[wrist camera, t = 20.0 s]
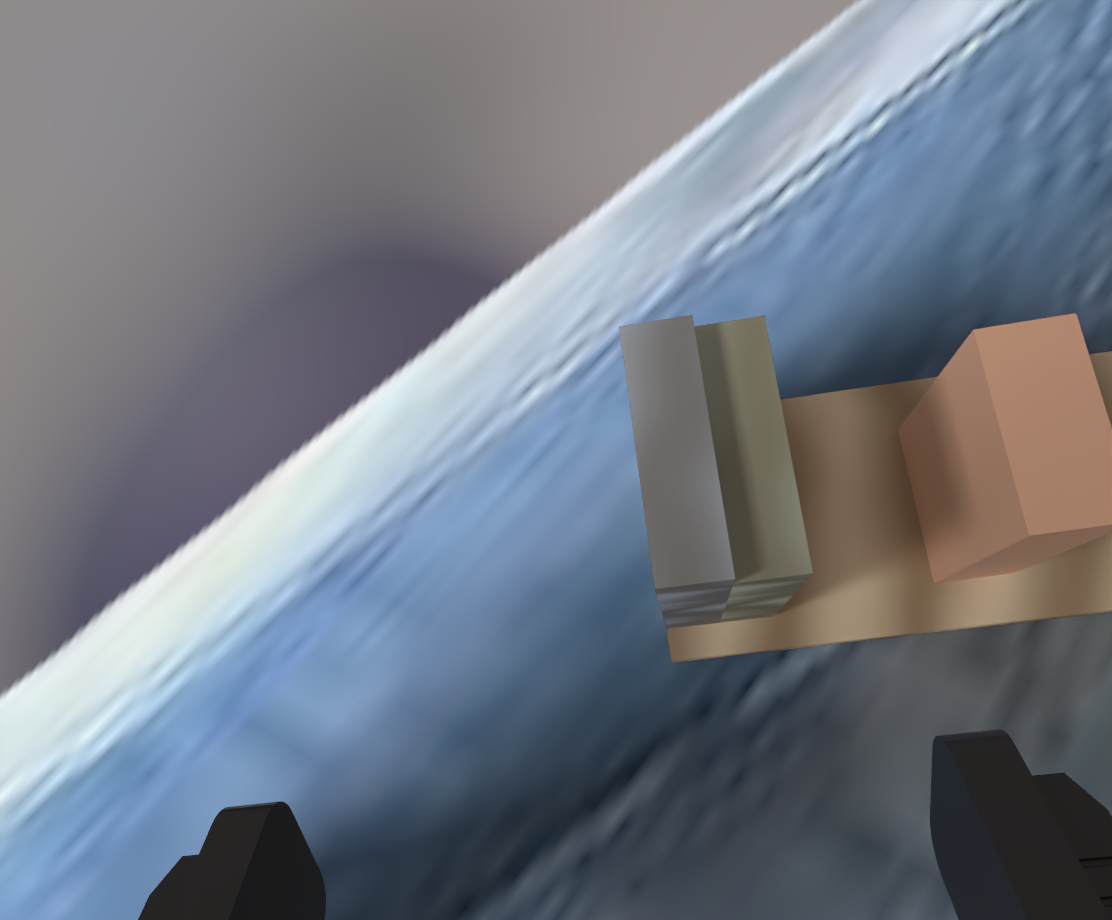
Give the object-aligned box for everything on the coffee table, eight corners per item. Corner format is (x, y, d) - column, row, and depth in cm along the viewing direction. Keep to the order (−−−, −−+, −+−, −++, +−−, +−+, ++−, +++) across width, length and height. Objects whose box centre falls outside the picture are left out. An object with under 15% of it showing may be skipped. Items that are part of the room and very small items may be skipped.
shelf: (671, 662, 43) (661, 637, 27) (639, 429, 46) (613, 287, 31) (1197, 601, 40) (1521, 535, 25) (1122, 359, 44) (1365, 164, 28)
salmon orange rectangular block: (934, 583, 41) (1029, 535, 29) (897, 430, 43) (973, 329, 32) (1012, 573, 40) (1140, 520, 29) (972, 418, 43) (1076, 313, 31)
